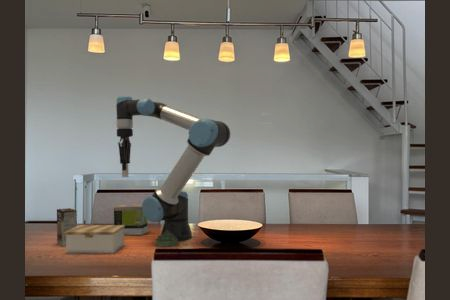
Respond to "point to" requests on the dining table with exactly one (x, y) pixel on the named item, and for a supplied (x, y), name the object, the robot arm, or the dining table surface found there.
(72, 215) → the coffee box
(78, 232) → the lid
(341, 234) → the dining table surface
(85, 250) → the chest
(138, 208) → the tea box
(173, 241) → the decorative artifact
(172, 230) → the robot arm
